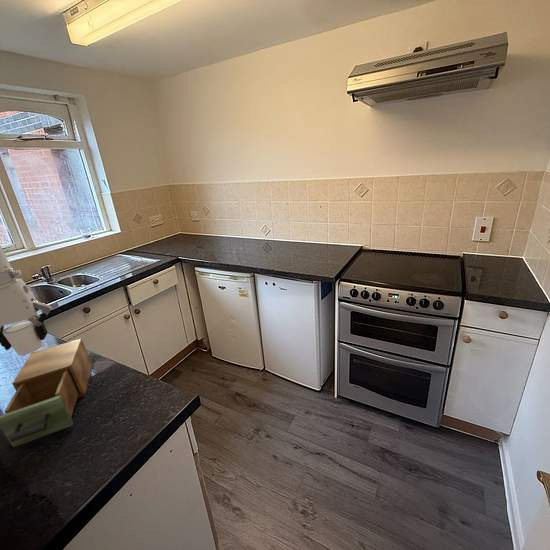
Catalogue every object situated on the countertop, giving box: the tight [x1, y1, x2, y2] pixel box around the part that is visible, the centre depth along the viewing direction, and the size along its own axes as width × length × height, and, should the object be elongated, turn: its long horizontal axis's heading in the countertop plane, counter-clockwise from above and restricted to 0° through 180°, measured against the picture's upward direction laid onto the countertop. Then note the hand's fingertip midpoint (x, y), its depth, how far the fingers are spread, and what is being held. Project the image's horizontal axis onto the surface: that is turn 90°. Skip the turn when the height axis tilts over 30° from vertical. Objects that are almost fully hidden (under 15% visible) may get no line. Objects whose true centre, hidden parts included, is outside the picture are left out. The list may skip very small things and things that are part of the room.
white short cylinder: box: [2, 319, 44, 356], centre depth 78 cm, size 7×7×7 cm
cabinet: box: [11, 338, 94, 399], centre depth 88 cm, size 16×14×11 cm
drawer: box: [0, 369, 79, 448], centre depth 75 cm, size 19×12×9 cm, turn 23°
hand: (26, 341), depth 78 cm, fingers closed on white short cylinder, 6 cm apart
